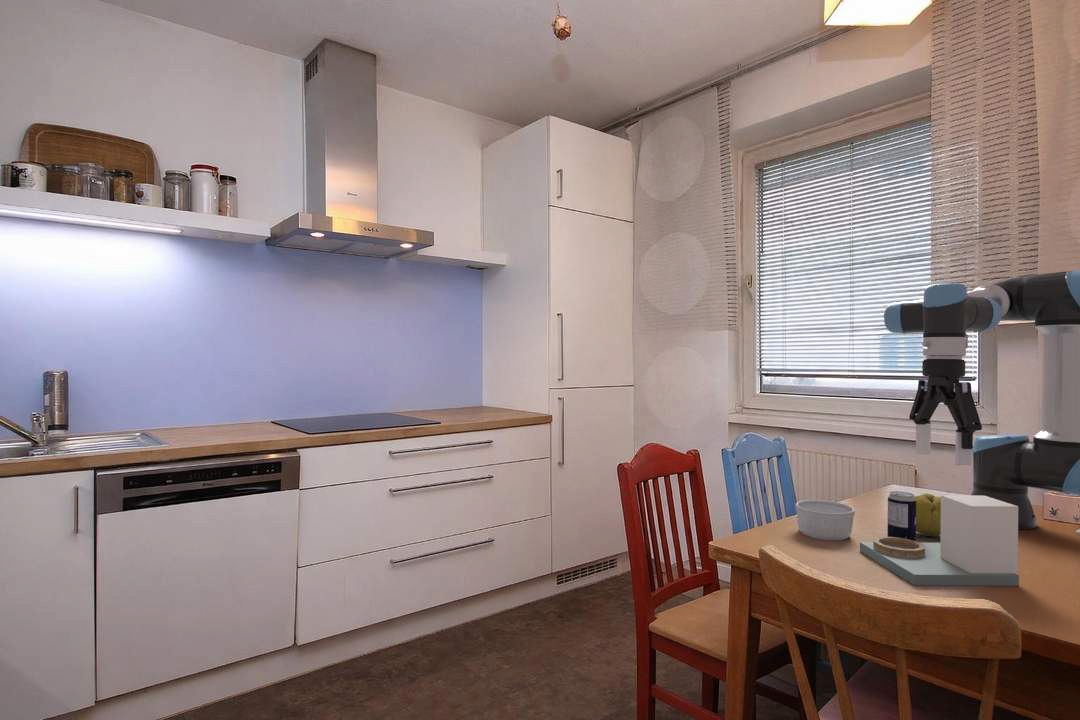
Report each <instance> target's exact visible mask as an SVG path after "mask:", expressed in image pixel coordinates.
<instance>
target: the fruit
mask: <svg viewBox="0 0 1080 720" xmlns="http://www.w3.org/2000/svg"><path fill="white" fill-rule="evenodd" d="M914 497H915V499H916V533H919V534H922V535H924V536H928V537H937V536H940V535H941V496H936V495H934V494H931V493H922V494H919V495H914Z"/></svg>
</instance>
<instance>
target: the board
mask: <svg viewBox="0 0 1080 720" xmlns="http://www.w3.org/2000/svg"><path fill="white" fill-rule="evenodd" d="M920 543H921V544H923V545H925V556H923V557H919V558H905V557H898V556H892V555H888V554H885V553H881V552H879V551H877V550H876V549H874V548H873V541H872V542H871V541H870V542H869V541H868V542H867V541H865V542H863V541H860V542H859V552H861V553H862V554H863V555H865V556H867V557H868V558H870V559H872V560H873V561H875V562H877V563H878V564H880V565H882V566H883V567H885V568H886V569H888V570H889V571H891V572H893V573H894V574H896V575H898V576H899V577H901V578H902V579H904V580H905V581H907V582H908V583H910V584H912V585H913V584H914V585H913V586H984V587H985V586H989V587H990V586H991V587H992V586H996V587H997V586H1003V587H1005V586H1007V587H1009V586H1010V587H1012V586H1013V587H1014V586H1016V587H1019V586H1020V575H1019V574H1018V573H969V572H968V571H966V570H964V569H962V568H960V567H958V566H956V565H954V564H952V563H950V562H948V561H946V560H944V559H942V558H940V542H920ZM887 546H890V547H894V548H901V549H912V548H908V547H905V546H898V545H887Z"/></svg>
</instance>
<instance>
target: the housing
mask: <svg viewBox="0 0 1080 720" xmlns="http://www.w3.org/2000/svg"><path fill="white" fill-rule="evenodd" d="M940 497H941V535H939V536H940V539H939V540H940V541H939V543H940V558H942V559H944V560H946V561H948V562H950V563H952V564H954V565H956V566H958V567H960V568H962V569H964V570H966V571H968V572H969V573H1015V574H1018V570H1019V568H1018V566H1019V563H1018V562H1019V557H1018V556H1019V555H1018V554H1019V529H1018V506H1015V505H1012V504H1009V503H1006V502H1003V501H1000V500H997V499H994V498H990V497H987V496H976V495H971V494H970V495H966V494H965V495H963V494H961V495H957V494H956V495H955V494H953V495H949V494H947V495H943V494H942V495H940Z"/></svg>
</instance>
